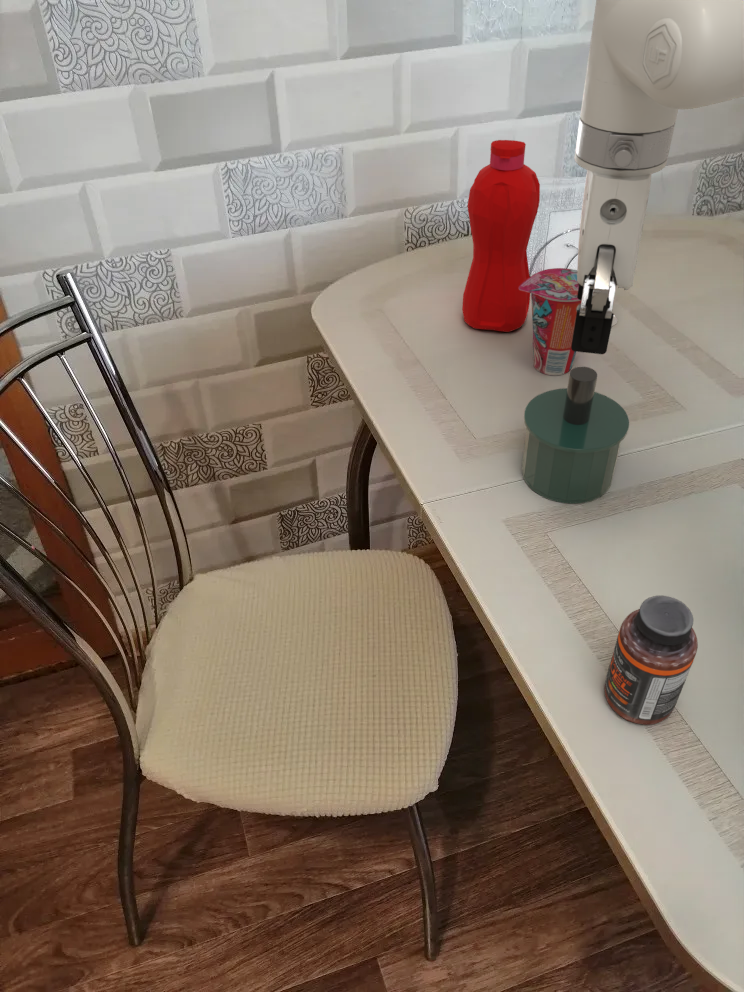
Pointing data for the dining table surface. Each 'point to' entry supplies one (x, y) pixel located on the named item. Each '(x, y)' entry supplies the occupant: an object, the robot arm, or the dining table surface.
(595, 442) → the lid
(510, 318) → the water bottle
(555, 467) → the pot
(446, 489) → the dining table surface
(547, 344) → the cup
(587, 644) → the dining table surface
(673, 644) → the supplement bottle
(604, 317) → the robot arm
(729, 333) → the dining table surface
